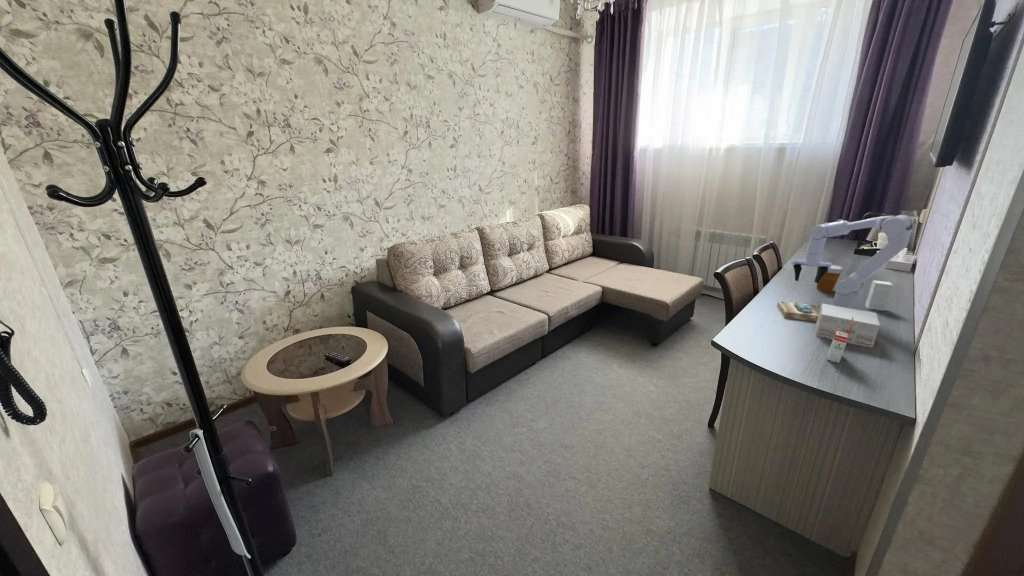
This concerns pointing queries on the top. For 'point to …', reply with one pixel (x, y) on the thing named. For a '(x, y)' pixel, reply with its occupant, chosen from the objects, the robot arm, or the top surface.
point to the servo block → (803, 307)
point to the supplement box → (848, 324)
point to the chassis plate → (791, 312)
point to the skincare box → (879, 295)
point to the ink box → (839, 343)
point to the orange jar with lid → (829, 278)
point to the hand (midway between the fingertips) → (806, 281)
